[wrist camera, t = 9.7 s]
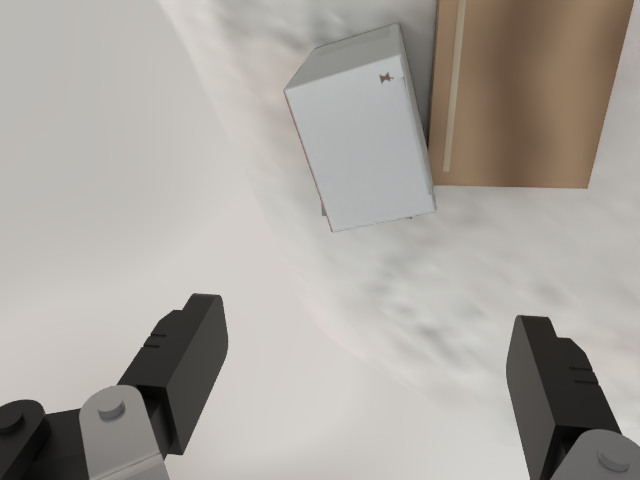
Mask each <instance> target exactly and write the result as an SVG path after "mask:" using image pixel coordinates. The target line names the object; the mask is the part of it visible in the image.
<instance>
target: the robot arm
mask: <svg viewBox="0 0 640 480" xmlns="http://www.w3.org/2000/svg"><path fill="white" fill-rule="evenodd" d="M227 350H228V334H227V327H226V321H225V314H224V307H223V301H222V298H221V296H220V295H212V294H196V293H194V294H192V296H191V297H190V298H189V300H188V302H187V303H186V305H185V306H184V308H183V310H173V311H172V312H170V313H169V314H168V315H166V316H165V317H164V318H162V319H161V320H160V321H159V322H158V323H157V325H156V327H155V328H154V329H153V331H152V332H151V336H149V337H148V338H147V340H146V341H145V343H144V346H143V347H142V348H141V349H140V351H139V352H138V354H137V355H136V356H135V358H134V359H133V361H132V362H131V364H130V366H129V367H128V368H127V370H126V371H125V373H124V375H123V376H122V377H121V379H120V380H119V382H118V384H117V385H116V386H111V387H108V388H105V389H103V390H101V391H99V392H97V393H95V394H94V395H92V396H91V397H90V398H89V399H88V400H87V401H86V402H85V403H84V405H83V406H82V408H80V409H75V410H69V411H63V412H57V413H51V414H45V411H44V409H43V407H42V406H41V404H40V403H38V402H37V401H34V400H18V401H14V402H11V403H8V404H5V405H3V406H1V407H0V480H169V476H168V473H167V470H166V467H165V464H164V460H165V458H166V456H167V454H175V455H183V453H184V451H185V449H186V447H187V444H188V442H189V440H190V437H191V435H192V433H193V431H194V429H195V426H196V424H197V422H198V419H199V417H200V415H201V413H202V410H203V408H204V406H205V404H206V401H207V399H208V397H209V394H210V392H211V390H212V388H213V386H214V383H215V381H216V379H217V376H218V374H219V372H220V370H221V367H222V365H223V363H224V361H225V358H226V355H227ZM506 377H507V384H508V388H509V392H510V397H511V401H512V405H513V409H514V413H515V417H516V422H517V426H518V430H519V434H520V438H521V443H522V447H523V451H524V455H525V459H526V463H527V468H528V471H529V476H530V480H640V447H639V446H638V445H637V444H636V443H635V442H633V441H632V440H630V439H629V438H626V437H625V436H623V435H622V433H621V431H620V428H619V426H618V424H617V422H616V420H615V417H614V415H613V413H612V411H611V409H610V406H609V404H608V402H607V400H606V398H605V395H604V393H603V391H602V389H601V387H600V386H599V385H598V380H597V378H596V376H595V373H594V372H593V371H592V367H591V364H590V362H589V360H588V358H587V356H586V353H585V352H584V351H583V350H582V349H581V348H580V347H579V346H578V345H577V344H576V343H575V342H573V341H572V340H571V339H570V338H559V337H557V336H556V333H555V330H554V328H553V325H552V323H551V321H550V319H549V318H548V317H540V316H524V315H518V316H517V317H516V319H515V323H514V327H513V332H512V337H511V342H510V347H509V352H508V357H507V363H506Z"/></svg>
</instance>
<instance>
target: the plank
mask: <svg viewBox="0 0 640 480" xmlns="http://www.w3.org/2000/svg"><path fill="white" fill-rule="evenodd" d="M633 3H634V0H437V10H436V23H435V37H434V50H433V64H432V77H431V91H430V104H429V118H428V131H427V151H428V158H429V164H430V170H431V176H432V182H433V185H453V186H497V187H540V188H583V189H587V188H588V184H589V180H590V176H591V172H592V168H593V164H594V160H595V156H596V152H597V148H598V144H599V140H600V136H601V132H602V128H603V124H604V120H605V116H606V112H607V107H608V103H609V99H610V95H611V91H612V87H613V83H614V79H615V75H616V71H617V67H618V63H619V59H620V55H621V51H622V47H623V43H624V39H625V35H626V31H627V27H628V23H629V19H630V15H631V11H632V7H633Z"/></svg>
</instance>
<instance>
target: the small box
mask: <svg viewBox="0 0 640 480" xmlns="http://www.w3.org/2000/svg"><path fill="white" fill-rule="evenodd" d="M283 92H284V94H285V97H286V100H287V103H288V106H289V109H290V112H291V115H292V117H293V120H294V123H295V126H296V129H297V132H298V135H299V138H300V140H301V143H302V146H303V149H304V152H305V155H306V158H307V161H308V164H309V167H310V170H311V172H312V175H313V178H314V181H315V184H316V187H317V190H318V193H319V196H320V199H321V202H322V205H323V208H324V210H325V213H326V216H327V219H328V222H329V225H330V228H331V231H332V232H338V231H343V230H348V229H353V228H358V227H363V226H368V225H373V224H378V223H383V222H388V221H393V220H398V219H402V218H407V217H412V216H417V215H422V214H427V213H433V212H435V211H436V210H437V207H436V201H435V194H434V188H433V182H432V176H431V170H430V164H429V158H428V151H427V145H426V140H425V136H424V131H423V127H422V122H421V118H420V114H419V109H418V105H417V100H416V96H415V91H414V87H413V82H412V78H411V73H410V69H409V64H408V60H407V55H406V51H405V46H404V42H403V38H402V33H401V29H400V25H399V23H395V24H392V25H389V26H386V27H383V28H379V29H376V30H373V31H370V32H366V33H363V34H360V35H357V36H354V37H350V38H347V39H344V40H341V41H338V42H334V43H331V44H328V45H325V46H322V47H319V48H315V49H314V50H313V51H312V53H311V54H310V55H309V57H308V58H307V59H306V60H305V62H304V63H303V64H302V66H301V67H300V68H299V70H298V71H297V72H296V74H295V75H294V76H293V77H292V79H291V80H290V82H289V83H288V84H287V86H286V87H285V89H284V91H283Z"/></svg>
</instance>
